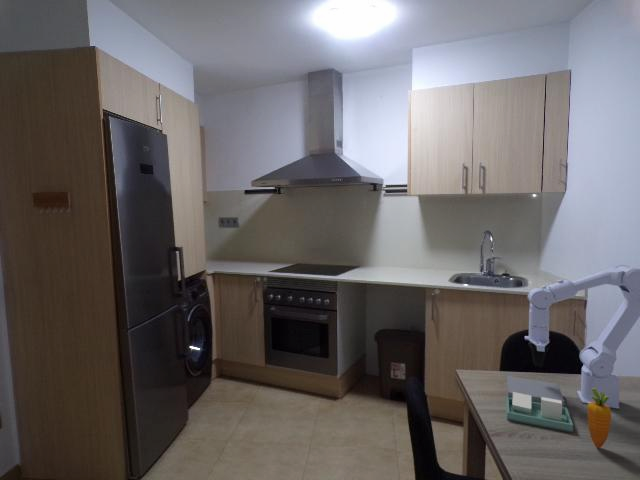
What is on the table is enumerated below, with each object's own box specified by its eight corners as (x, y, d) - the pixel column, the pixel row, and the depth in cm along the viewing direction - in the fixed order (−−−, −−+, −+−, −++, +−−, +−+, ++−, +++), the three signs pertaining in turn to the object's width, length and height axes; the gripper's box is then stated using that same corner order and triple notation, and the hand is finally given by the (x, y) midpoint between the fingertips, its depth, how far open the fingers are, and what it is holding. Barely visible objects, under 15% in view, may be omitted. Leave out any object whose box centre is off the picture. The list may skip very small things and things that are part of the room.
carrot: (614, 455, 91) (616, 396, 90) (591, 452, 92) (593, 394, 91) (603, 442, 96) (605, 386, 95) (582, 440, 97) (583, 385, 96)
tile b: (531, 400, 113) (531, 395, 113) (531, 413, 110) (531, 409, 109) (512, 396, 116) (512, 391, 115) (512, 409, 112) (512, 404, 111)
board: (557, 393, 122) (557, 383, 122) (564, 413, 111) (564, 401, 110) (506, 385, 129) (507, 375, 128) (507, 402, 117) (508, 392, 117)
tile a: (561, 400, 107) (562, 403, 105) (560, 417, 107) (561, 420, 106) (541, 396, 109) (541, 399, 108) (540, 413, 110) (541, 416, 108)
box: (566, 415, 109) (566, 407, 109) (572, 433, 100) (573, 425, 100) (506, 403, 116) (506, 397, 116) (507, 419, 107) (507, 412, 107)
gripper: (523, 318, 130) (522, 356, 131) (526, 330, 117) (525, 371, 118) (546, 320, 127) (545, 359, 128) (552, 332, 114) (551, 375, 115)
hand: (537, 365), depth 122 cm, fingers closed
